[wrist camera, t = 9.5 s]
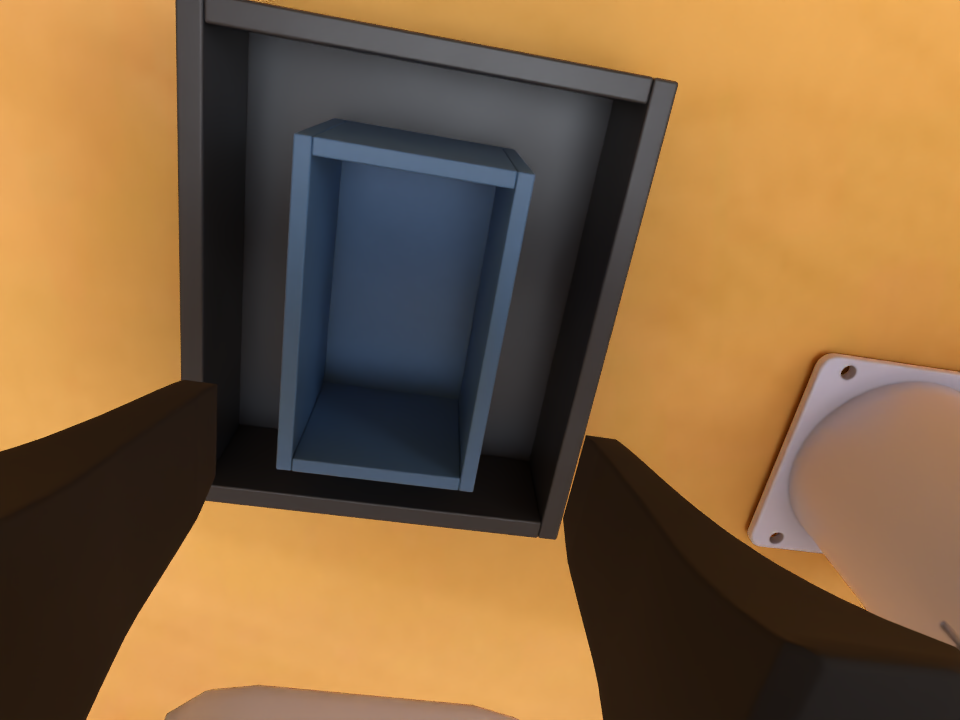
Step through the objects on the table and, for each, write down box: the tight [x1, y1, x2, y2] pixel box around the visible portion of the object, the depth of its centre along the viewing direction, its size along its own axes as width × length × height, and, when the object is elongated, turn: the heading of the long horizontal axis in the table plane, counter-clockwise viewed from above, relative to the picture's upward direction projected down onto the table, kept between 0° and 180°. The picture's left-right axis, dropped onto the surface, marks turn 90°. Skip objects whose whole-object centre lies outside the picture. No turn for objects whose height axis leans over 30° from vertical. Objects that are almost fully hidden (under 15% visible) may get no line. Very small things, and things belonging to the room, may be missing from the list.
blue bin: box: [276, 118, 535, 492], centre depth 18 cm, size 8×5×5 cm, turn 170°
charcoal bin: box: [176, 0, 678, 540], centre depth 19 cm, size 11×13×4 cm
